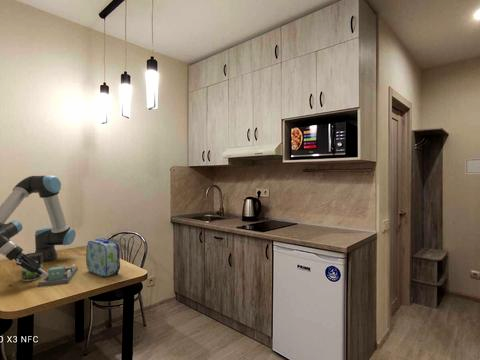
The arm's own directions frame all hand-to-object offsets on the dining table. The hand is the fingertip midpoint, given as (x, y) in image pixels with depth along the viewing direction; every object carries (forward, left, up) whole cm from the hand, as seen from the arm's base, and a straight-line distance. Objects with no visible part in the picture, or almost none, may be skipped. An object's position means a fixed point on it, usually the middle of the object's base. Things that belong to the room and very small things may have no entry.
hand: (47, 277), depth 162 cm
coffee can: (-12, -11, -3) cm, 16 cm away
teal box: (0, +5, -3) cm, 6 cm away
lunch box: (-6, +28, -3) cm, 29 cm away
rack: (-7, +4, -3) cm, 9 cm away
